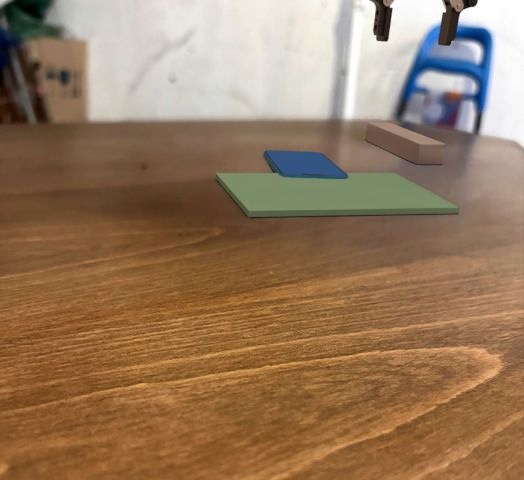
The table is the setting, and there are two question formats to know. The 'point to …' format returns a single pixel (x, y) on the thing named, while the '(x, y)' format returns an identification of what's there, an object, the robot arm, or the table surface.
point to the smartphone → (303, 165)
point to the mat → (331, 195)
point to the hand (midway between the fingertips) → (413, 43)
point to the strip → (405, 143)
